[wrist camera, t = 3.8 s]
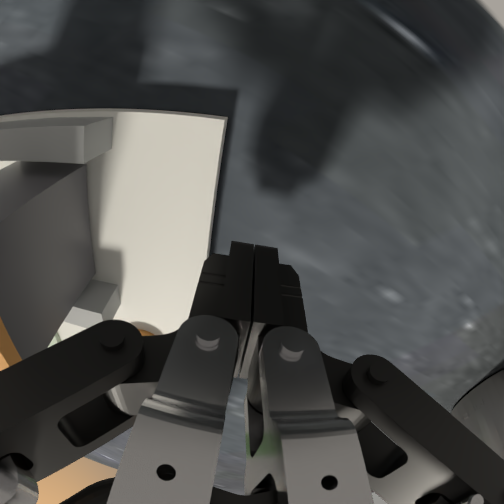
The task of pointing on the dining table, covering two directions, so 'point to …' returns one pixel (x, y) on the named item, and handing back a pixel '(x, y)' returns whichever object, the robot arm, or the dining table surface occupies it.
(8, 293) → the block
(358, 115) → the dining table surface
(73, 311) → the panel
